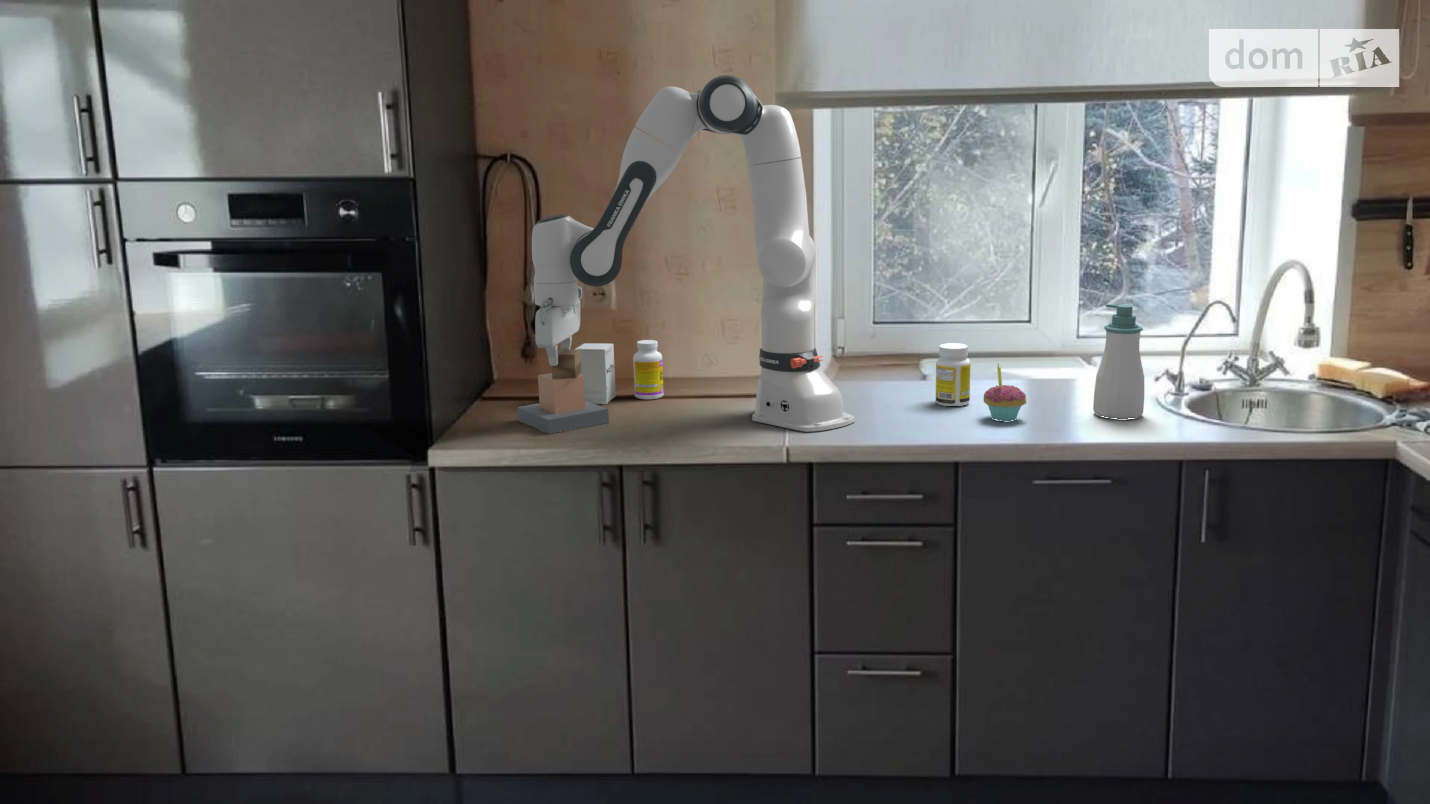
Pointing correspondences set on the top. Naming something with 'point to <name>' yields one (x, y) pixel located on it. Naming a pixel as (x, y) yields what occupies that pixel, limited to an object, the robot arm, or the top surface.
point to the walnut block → (567, 364)
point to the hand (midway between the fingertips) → (560, 361)
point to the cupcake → (1004, 400)
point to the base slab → (562, 417)
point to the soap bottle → (1120, 369)
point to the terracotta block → (561, 393)
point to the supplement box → (598, 372)
